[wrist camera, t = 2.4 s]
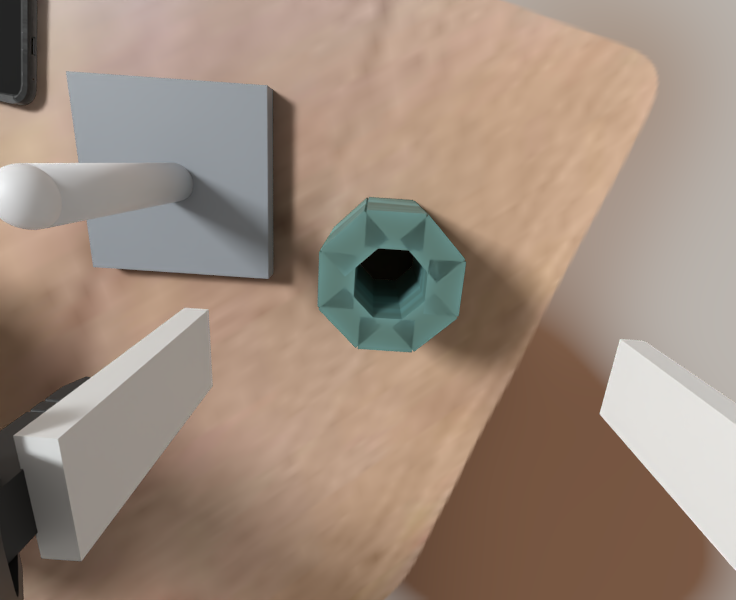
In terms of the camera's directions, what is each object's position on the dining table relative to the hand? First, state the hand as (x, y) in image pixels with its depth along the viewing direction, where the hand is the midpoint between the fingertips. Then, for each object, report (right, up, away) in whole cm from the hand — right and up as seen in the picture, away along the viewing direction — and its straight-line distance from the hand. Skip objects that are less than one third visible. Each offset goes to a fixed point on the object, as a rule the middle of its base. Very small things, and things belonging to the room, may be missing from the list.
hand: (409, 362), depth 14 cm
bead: (0, +5, +16) cm, 17 cm away
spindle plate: (-14, +10, +15) cm, 23 cm away
